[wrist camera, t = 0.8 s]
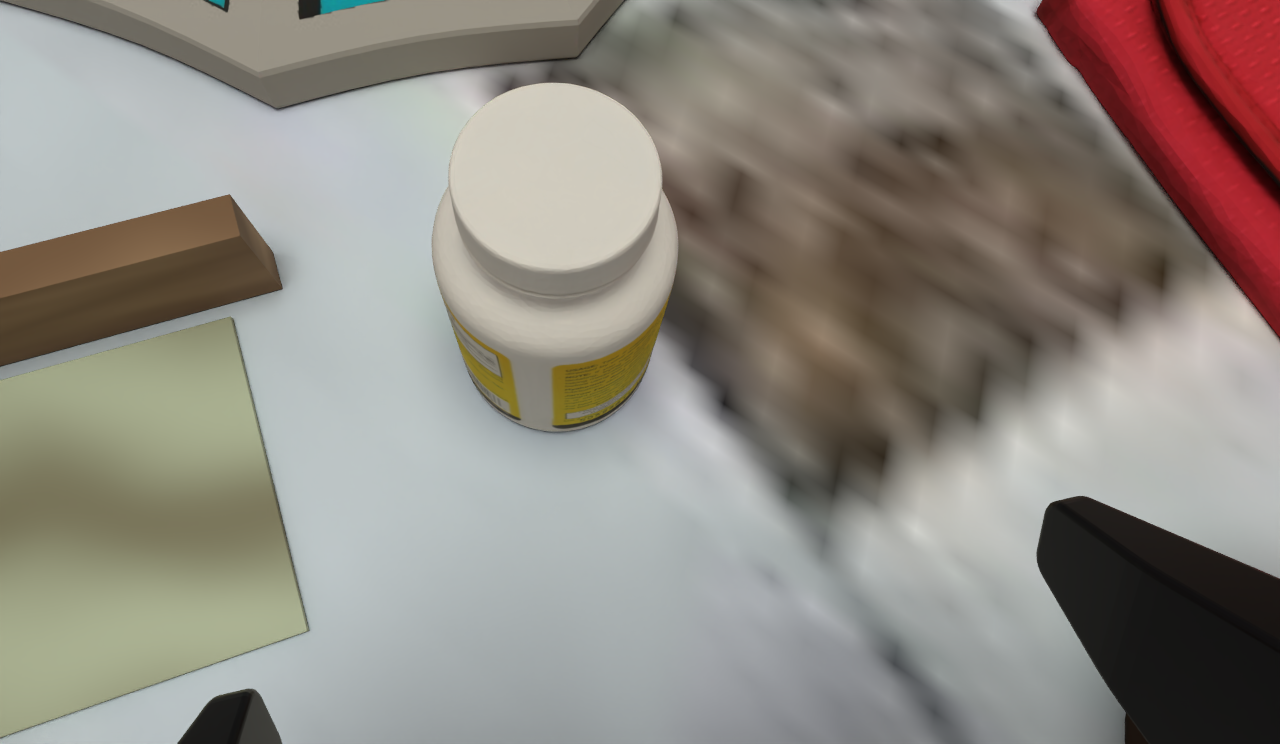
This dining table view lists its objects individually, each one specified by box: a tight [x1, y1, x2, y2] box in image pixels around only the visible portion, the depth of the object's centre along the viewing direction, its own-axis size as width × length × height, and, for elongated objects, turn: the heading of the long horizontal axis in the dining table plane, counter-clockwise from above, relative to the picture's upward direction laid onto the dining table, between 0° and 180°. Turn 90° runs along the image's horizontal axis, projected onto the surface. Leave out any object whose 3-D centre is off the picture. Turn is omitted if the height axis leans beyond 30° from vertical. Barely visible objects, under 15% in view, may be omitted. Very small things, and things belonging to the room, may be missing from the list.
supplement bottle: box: [432, 83, 678, 432], centre depth 21 cm, size 5×5×10 cm
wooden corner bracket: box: [0, 194, 309, 738], centre depth 21 cm, size 13×14×4 cm
